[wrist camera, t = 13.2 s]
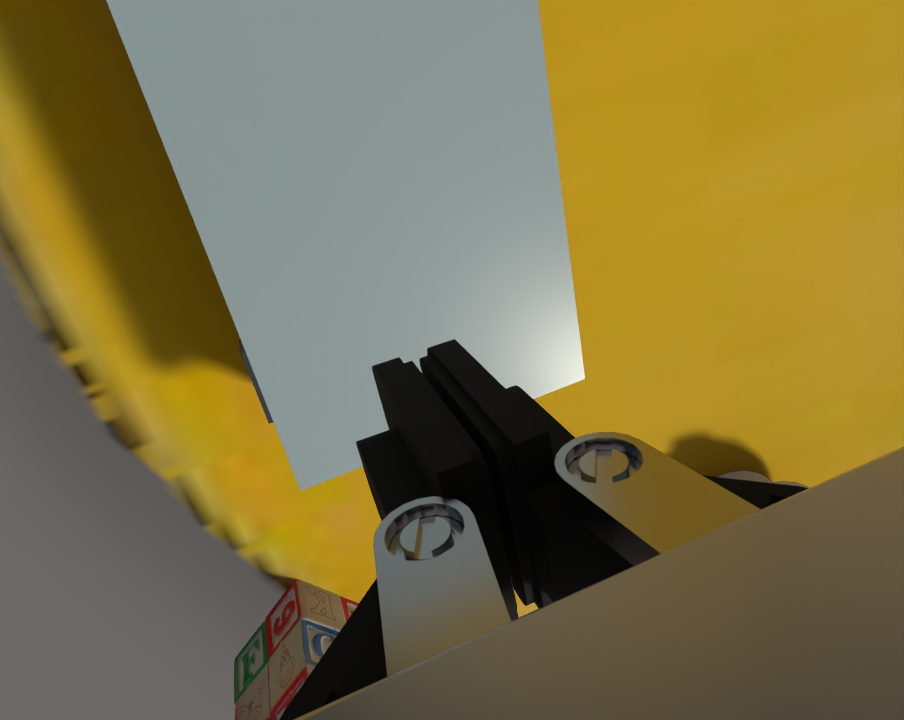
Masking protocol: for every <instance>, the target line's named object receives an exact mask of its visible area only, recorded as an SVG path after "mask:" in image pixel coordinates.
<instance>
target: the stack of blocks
mask: <svg viewBox="0 0 904 720" xmlns="http://www.w3.org/2000/svg"><path fill="white" fill-rule="evenodd" d="M358 604H359V603H356V602H354V601H351V600H348V599H346V598H343V597H340V596H338V595H337V594H334V593H332V592H329V591H327V590H324V589H322V588H319V587H317V586H314V585H312V584H309V583H306V582H304V581H301V580H295V581H294V582H293V584H292V585H291V586H290V588H289V589H288V590H287V592H285V593H284V594H283V596H282V597H281V598H280V599H279V601H278V602H277V603H276V605H275V606H274V608H273V609H272V610H271V611H270V613H269V614H268V615H267V617H266V620H265V621H264V622H263V623H262V625H261V626H260V627H259V628H258V629H257V631H256V632H255V633H254V635H253V636H252V637H251V639H250V640H249V641H248V642H247V644H246V645H245V646H244V648H243V649H242V650H241V651H240V653H239V654H238V655H237V657H236V658H235V664H234V665H235V666H234V667H235V668H234V703H235V705H236V708H235V720H279V719H280V717H281V715H282V714H283V712H284V711H285V709H286V708H287V707H288V705H289V704H290V702H291V701H292V699H293V698H294V696H295V695H296V694H297V692H298V691H299V689H300V688H301V686H302V685H303V684H304V682H305V681H306V679H307V678H308V676H309V675H310V673H311V672H312V671H313V669H314V668H315V666H316V665H317V663H318V662H319V661H320V659H321V658H322V656H323V655H324V653H325V652H326V650H327V649H328V648H329V646H330V645H331V643H332V642H333V640H334V639H335V638H336V636H337V635H338V633H339V632H340V630H341V629H342V627H343V626H344V625H345V623H346V622H347V620H348V619H349V617H350V616H351V614H352V613H353V612H354V610H355V609H356V607H357V606H358Z"/></svg>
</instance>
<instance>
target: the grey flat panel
mask: <svg viewBox="0 0 904 720" xmlns="http://www.w3.org/2000/svg"><path fill="white" fill-rule="evenodd" d="M106 1H107V4H108V6H109V9H110V11H111V14H112V16H113V19H114V21H115V24H116V26H117V29H118V31H119V34H120V36H121V39H122V41H123V44H124V46H125V49H126V52H127V54H128V57H129V59H130V62H131V64H132V67H133V69H134V72H135V74H136V77H137V79H138V82H139V84H140V87H141V89H142V92H143V94H144V97H145V99H146V102H147V104H148V107H149V109H150V112H151V115H152V117H153V120H154V122H155V125H156V127H157V130H158V132H159V135H160V137H161V140H162V142H163V145H164V147H165V150H166V152H167V155H168V157H169V160H170V162H171V165H172V167H173V170H174V173H175V175H176V178H177V180H178V183H179V185H180V188H181V190H182V193H183V195H184V198H185V200H186V203H187V205H188V208H189V210H190V213H191V215H192V218H193V220H194V223H195V225H196V228H197V231H198V233H199V236H200V238H201V241H202V243H203V246H204V248H205V251H206V253H207V256H208V258H209V261H210V263H211V266H212V268H213V271H214V273H215V276H216V278H217V281H218V283H219V286H220V289H221V291H222V294H223V296H224V299H225V301H226V304H227V306H228V309H229V311H230V314H231V316H232V319H233V321H234V324H235V326H236V329H237V331H238V334H239V336H240V339H239V345H240V351H241V355H242V357H243V360H244V362H245V365H246V367H247V370H248V372H249V375H250V377H251V380H252V382H253V385H254V387H255V390H256V392H257V395H258V397H259V400H260V402H261V405H262V407H263V410H264V412H265V415H266V417H267V420H268V422H269V423H272V422H274V425H275V427H276V430H277V432H278V435H279V437H280V440H281V442H282V445H283V447H284V450H285V452H286V455H287V457H288V460H289V462H290V465H291V468H292V470H293V473H294V475H295V478H296V480H297V483H298V485H299V488H300V490H304V489H306V488H309V487H311V486H314V485H317V484H319V483H322V482H324V481H327V480H329V479H332V478H334V477H337V476H339V475H342V474H344V473H347V472H350V471H352V470H355V469H357V468H360V467H362V466H363V464H362V461H361V458H360V455H359V452H358V448H357V445H356V441H359V440H362V439H365V438H367V437H370V436H373V435H376V434H379V433H382V432H384V431H387V430H389V428H388V425H387V421H386V418H385V414H384V411H383V407H382V404H381V400H380V397H379V393H378V390H377V386H376V383H375V379H374V375H373V371H372V366H373V365H377V364H380V363H383V362H386V361H389V360H392V359H395V358H398V357H399V358H400V359H401V360H402V361H403V363H406V362H409V361H413V362H414V364H415V365H416V366H417V368H418V369H419V370H420V371H421V367H420V361H419V360H420V358H422V357H425V356H427V348H429V347H432V346H435V345H438V344H441V343H444V342H447V341H450V340H453V339H455V340H456V341H457V342H458V343H459V344H460V345H461V346H462V347H464V348H465V349H466V350H467V351H468V352H469V353H470V354H471V355H472V356H473V357H474V358H475V359H476V360H477V361H478V362H479V363H480V364H481V365H482V366H483V367H484V368H485V369H486V370H487V371H488V372H489V373H490V374H491V375H492V376H493V377H494V378H495V379H496V380H497V381H498V382H499V383H500V384H501V385H502V386H503V387H504V388H505V389H506V388H509V387H512V386H516V385H517V386H519V387H520V388H522V389H523V390H524V391H525V392H526V393H527V394H528V395H529V396H530V397H531V398H532V399H535V398H537V397H540V396H542V395H545V394H547V393H550V392H552V391H555V390H558V389H560V388H563V387H565V386H568V385H570V384H573V383H575V382H578V381H580V380H583V379H585V375H584V367H583V359H582V351H581V343H580V335H579V327H578V319H577V311H576V303H575V295H574V287H573V279H572V271H571V263H570V255H569V247H568V239H567V231H566V223H565V215H564V207H563V199H562V191H561V183H560V175H559V167H558V159H557V151H556V143H555V135H554V127H553V119H552V111H551V103H550V95H549V87H548V79H547V71H546V63H545V55H544V47H543V39H542V31H541V23H540V15H539V6H538V0H106ZM421 373H422V371H421Z"/></svg>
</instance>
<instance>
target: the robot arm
mask: <svg viewBox="0 0 904 720" xmlns="http://www.w3.org/2000/svg"><path fill="white" fill-rule="evenodd" d="M419 361H420V367H421V371H422V373H421V371H420V370H419V369H418V368H417V366H416V365H415V364H414V362H413V361H409V362H406V363H403V361H402V360H401V359H400V358H399V357H398V358H395V359H392V360H389V361H386V362H383V363H380V364H377V365H373V366H372V371H373V375H374V379H375V383H376V386H377V390H378V393H379V397H380V400H381V404H382V407H383V411H384V414H385V418H386V421H387V425H388V428H389V430H387V431H384V432H382V433H379V434H376V435H373V436H370V437H367V438H365V439H362V440H359V441H356V445H357V448H358V452H359V455H360V458H361V461H362V464H363V468H364V471H365V474H366V477H367V480H368V483H369V486H370V489H371V492H372V495H373V498H374V501H375V504H376V507H377V509H378V512H379V515H380V518H381V520H382V522H381V523H380V525H379V527H378V529H377V530H376V532H375V536H374V544H373V546H374V555H375V565H376V574H377V579H376V580H375V581H374V583H373V584H372V586H371V587H370V589H369V590H368V591H367V593H366V594H365V596H364V597H363V599H362V600H361V602H360V603H359V604H358V606H357V607H356V609H355V610H354V612H353V613H352V614H351V616H350V617H349V619H348V620H347V622H346V623H345V625H344V626H343V627H342V629H341V630H340V632H339V633H338V635H337V636H336V638H335V639H334V640H333V642H332V643H331V645H330V646H329V648H328V649H327V650H326V652H325V653H324V655H323V656H322V658H321V659H320V661H319V662H318V663H317V665H316V666H315V668H314V669H313V671H312V672H311V673H310V675H309V676H308V678H307V679H306V681H305V682H304V684H303V685H302V686H301V688H300V689H299V691H298V692H297V694H296V695H295V696H294V698H293V699H292V701H291V702H290V704H289V705H288V707H287V708H286V709H285V711H284V712H283V714H282V715H281V717H280V719H279V720H904V447H902V448H900V449H897V450H895V451H893V452H890V453H888V454H886V455H884V456H881V457H879V458H877V459H875V460H872V461H870V462H868V463H865V464H863V465H861V466H859V467H856V468H854V469H852V470H850V471H847V472H845V473H843V474H840V475H838V476H836V477H834V478H831V479H829V480H827V481H824V482H822V483H820V484H818V485H815V486H813V487H811V488H805V487H800V486H793V485H784V484H775V483H766V482H757V481H748V480H739V479H730V478H721V477H712V476H703V475H700V474H699V473H697V472H695V471H693V470H692V469H690V468H688V467H687V466H685V465H683V464H681V463H680V462H678V461H676V460H674V459H673V458H671V457H669V456H667V455H666V454H664V453H662V452H660V451H659V450H657V449H655V448H653V447H652V446H650V445H648V444H647V443H645V442H643V441H641V440H639V439H637V438H635V437H632V436H630V435H627V434H621V433H616V432H598V433H592V434H586V435H583V436H580V437H578V438H575V437H574V436H572V435H571V434H570V433H569V432H568V431H567V430H566V429H565V428H564V427H563V426H562V425H561V424H560V423H558V422H557V421H556V420H555V419H554V418H553V417H552V416H551V415H550V414H549V413H548V412H547V411H545V410H544V409H543V408H542V407H541V406H540V405H539V404H538V403H537V402H536V401H535V400H534V399H532V398H531V397H530V396H529V395H528V394H527V393H526V392H525V391H524V390H523V389H522V388H520V387H519V386H517V385H516V386H512V387H509V388H506V389H505V388H504V387H503V386H502V385H501V384H500V383H499V382H498V381H497V380H496V379H495V378H494V377H493V376H492V375H491V374H490V373H489V372H488V371H487V370H486V369H485V368H484V367H483V366H482V365H481V364H480V363H479V362H478V361H477V360H476V359H475V358H474V357H473V356H472V355H471V354H470V353H469V352H468V351H467V350H466V349H465V348H464V347H462V346H461V345H460V344H459V343H458V342H457V341H456V340H455V339H453V340H450V341H447V342H444V343H441V344H438V345H435V346H432V347H429V348H427V356H425V357H422V358H420V360H419ZM513 588H514V589H513ZM514 590H515V591H516V593H517V595H518V596H519V598H520V599H521V601H522V602H523V604H524V605H525V606H527V605H529V604H531V603H534V602H535V604H536V605H537V607H538V608H539V609H537V610H535V611H533V612H531V613H528V614H526V615H524V616H522V617H519V618H518V613H517V604H516V599H515V594H514Z"/></svg>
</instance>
